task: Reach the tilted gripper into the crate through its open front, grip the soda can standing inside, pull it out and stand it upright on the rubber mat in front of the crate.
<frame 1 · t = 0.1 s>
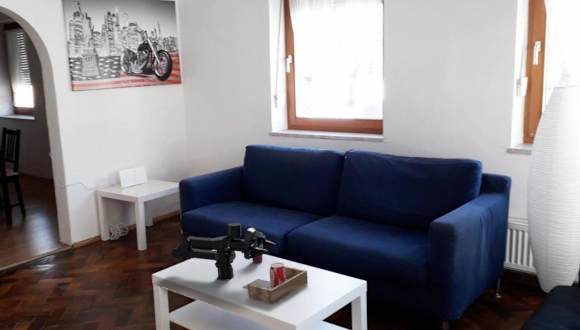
hand: (271, 248, 250), 17 cm above the table, tool horizontal, fingers open, 9 cm apart
crate: (278, 290, 243), on the table
mat: (259, 285, 250), on the table
soda can: (278, 290, 243), resting in crate
cup: (257, 261, 282), on the table
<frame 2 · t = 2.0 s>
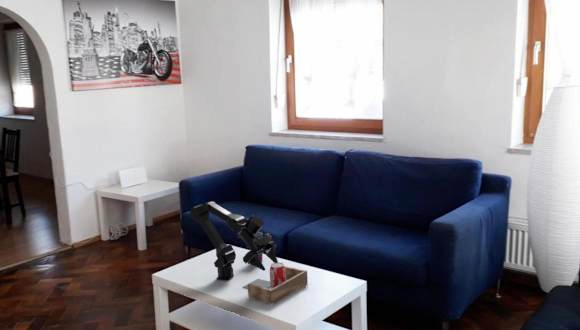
hand: (271, 266, 244), 10 cm above the table, tool tilted 45°, fingers open, 9 cm apart
nothing on the table moved.
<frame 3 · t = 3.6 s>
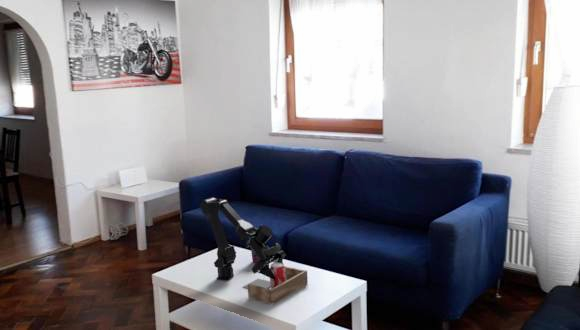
hand: (280, 276, 241), 7 cm above the table, tool tilted 45°, fingers closed on soda can, 7 cm apart
soda can: (278, 290, 243), resting in crate, touching gripper
everything else where it was.
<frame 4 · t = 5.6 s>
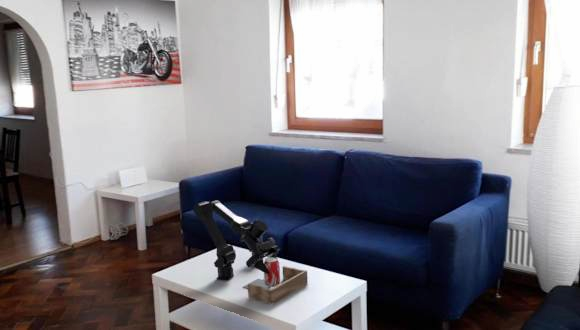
hand: (274, 271, 243), 8 cm above the table, tool tilted 45°, fingers closed on soda can, 7 cm apart
soda can: (272, 285, 245), point 2 cm above the table, touching gripper
everything else where it was.
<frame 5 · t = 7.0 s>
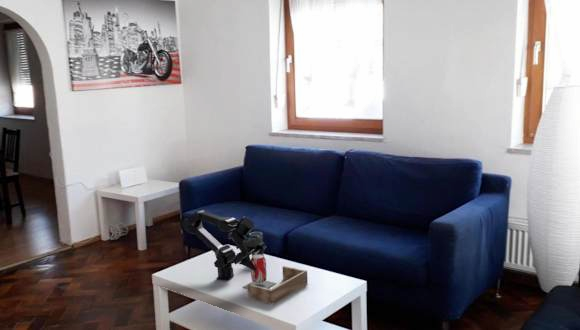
hand: (260, 267, 248), 9 cm above the table, tool tilted 45°, fingers closed on soda can, 7 cm apart
soda can: (259, 281, 250), point 2 cm above the table, touching gripper
everything else where it was.
when the fingers open (8 cm above the table, at t = 7.8 s): soda can stays where it is, resting on mat.
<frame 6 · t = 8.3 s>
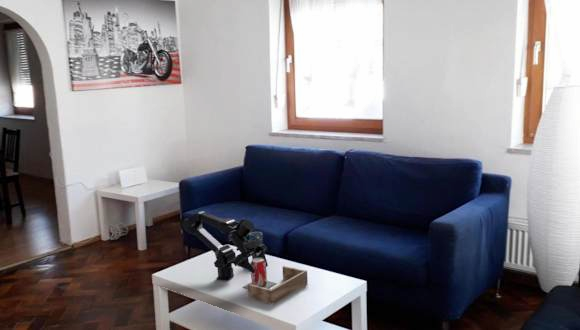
hand: (260, 269, 248), 8 cm above the table, tool tilted 45°, fingers open, 9 cm apart
soda can: (259, 285, 250), resting on mat
everything else where it was.
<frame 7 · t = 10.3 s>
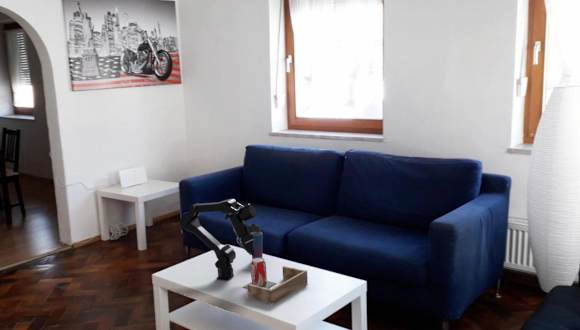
hand: (252, 255, 254), 13 cm above the table, tool tilted 25°, fingers open, 9 cm apart
nothing on the table moved.
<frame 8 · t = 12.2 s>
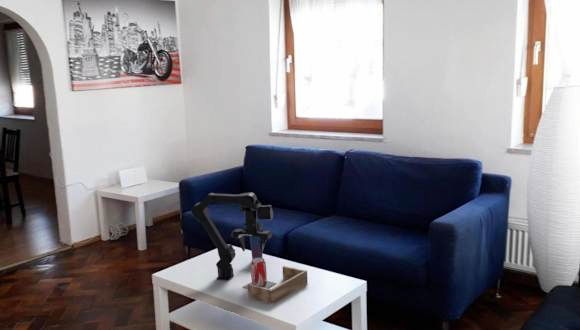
hand: (252, 251, 257), 13 cm above the table, tool pointing down, fingers open, 9 cm apart
nothing on the table moved.
at the end: soda can 0.1 cm from the mat (horizontally); soda can tilted 0°; the gripper is holding nothing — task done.
